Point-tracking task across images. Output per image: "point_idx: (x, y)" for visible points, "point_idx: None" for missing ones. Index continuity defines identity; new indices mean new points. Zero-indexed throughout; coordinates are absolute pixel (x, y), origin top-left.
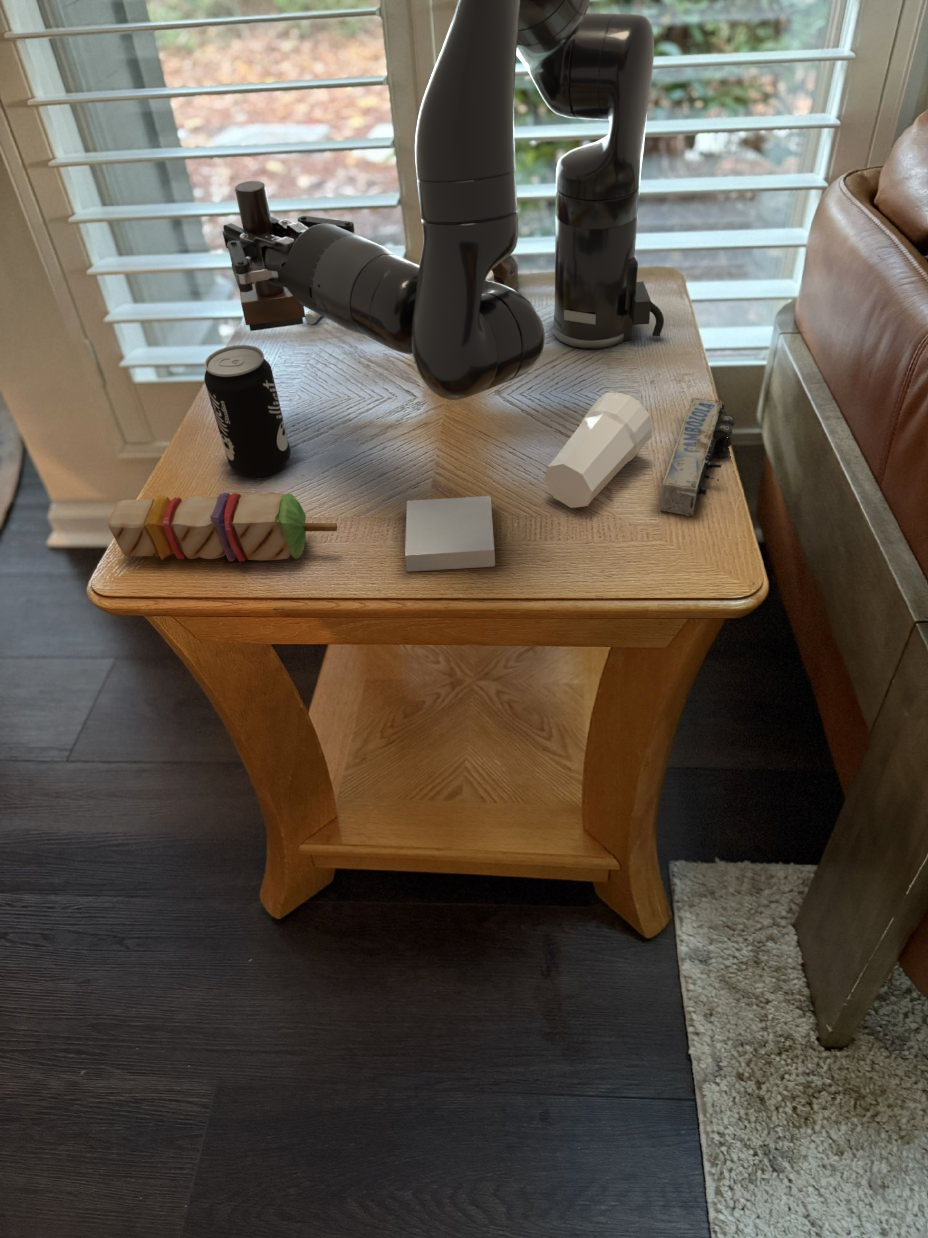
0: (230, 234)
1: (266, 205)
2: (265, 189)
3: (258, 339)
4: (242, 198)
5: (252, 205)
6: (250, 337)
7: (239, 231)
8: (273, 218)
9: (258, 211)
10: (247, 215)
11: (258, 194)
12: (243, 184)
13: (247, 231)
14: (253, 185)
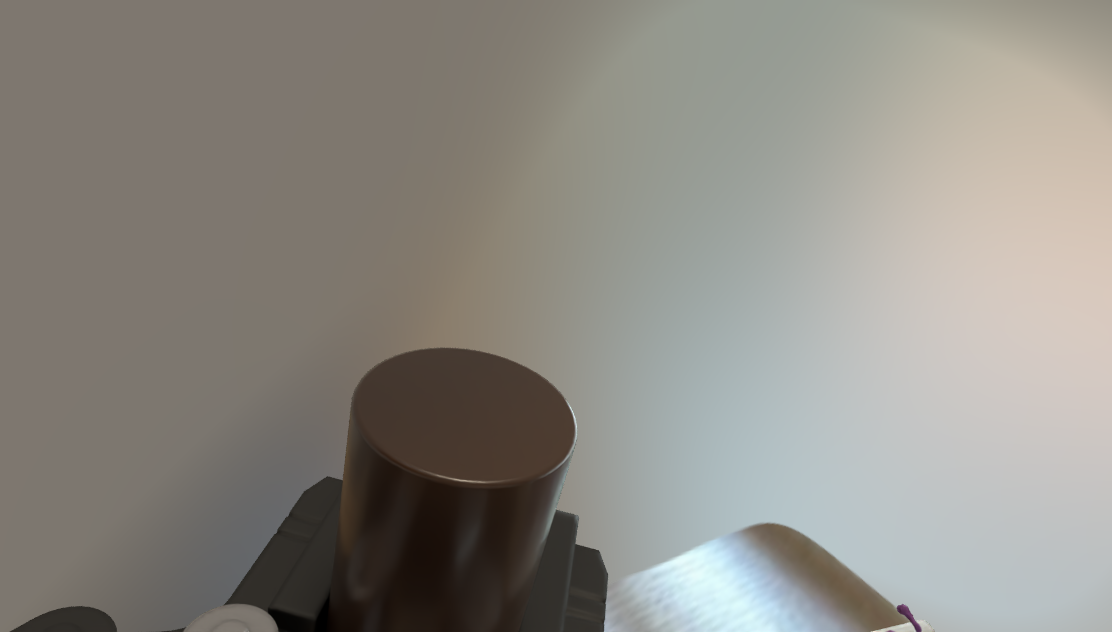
0: (296, 529)
1: (473, 589)
2: (528, 501)
3: (619, 622)
4: (347, 444)
5: (362, 530)
6: (613, 602)
7: (303, 563)
8: (597, 600)
9: (383, 588)
10: (337, 544)
11: (423, 506)
12: (472, 370)
13: (318, 604)
14: (491, 419)
